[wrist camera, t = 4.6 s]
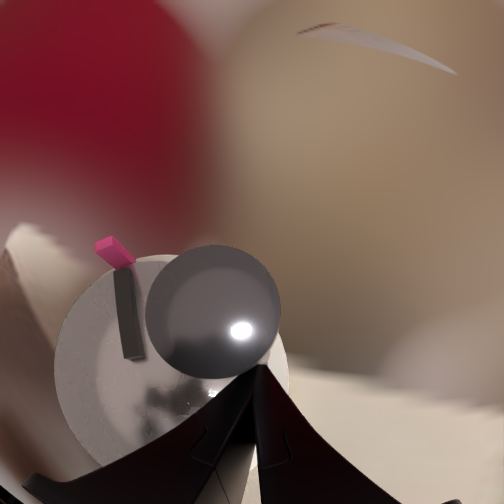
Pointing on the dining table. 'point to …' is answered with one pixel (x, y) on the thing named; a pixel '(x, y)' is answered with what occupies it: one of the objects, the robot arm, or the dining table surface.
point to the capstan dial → (160, 344)
